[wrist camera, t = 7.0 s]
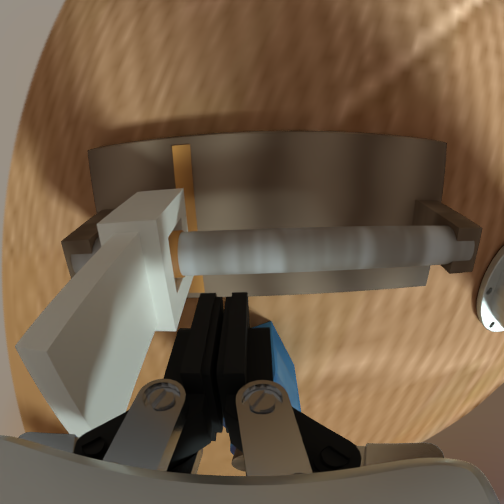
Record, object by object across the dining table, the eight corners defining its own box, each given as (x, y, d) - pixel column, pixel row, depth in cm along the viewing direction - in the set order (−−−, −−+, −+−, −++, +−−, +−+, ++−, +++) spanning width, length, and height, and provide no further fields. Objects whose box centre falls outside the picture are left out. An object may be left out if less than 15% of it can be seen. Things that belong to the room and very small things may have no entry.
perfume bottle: (271, 320, 28) (280, 435, 17) (294, 365, 30) (308, 469, 19) (209, 341, 29) (193, 451, 18) (237, 382, 31) (234, 483, 20)
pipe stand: (433, 139, 21) (500, 157, 13) (416, 274, 26) (461, 329, 18) (99, 147, 21) (36, 167, 14) (124, 285, 26) (86, 346, 19)
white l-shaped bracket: (183, 188, 19) (67, 338, 6) (193, 275, 21) (138, 467, 8) (137, 191, 19) (-13, 327, 6) (151, 276, 21) (68, 451, 8)
